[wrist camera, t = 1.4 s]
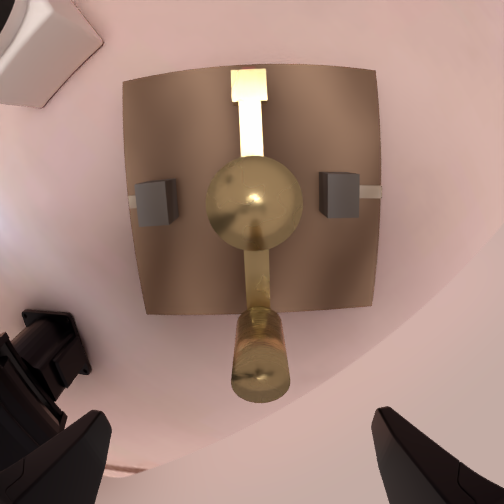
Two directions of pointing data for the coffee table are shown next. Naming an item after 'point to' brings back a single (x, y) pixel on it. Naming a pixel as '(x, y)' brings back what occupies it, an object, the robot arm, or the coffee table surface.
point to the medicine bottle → (41, 48)
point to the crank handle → (255, 240)
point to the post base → (274, 146)
